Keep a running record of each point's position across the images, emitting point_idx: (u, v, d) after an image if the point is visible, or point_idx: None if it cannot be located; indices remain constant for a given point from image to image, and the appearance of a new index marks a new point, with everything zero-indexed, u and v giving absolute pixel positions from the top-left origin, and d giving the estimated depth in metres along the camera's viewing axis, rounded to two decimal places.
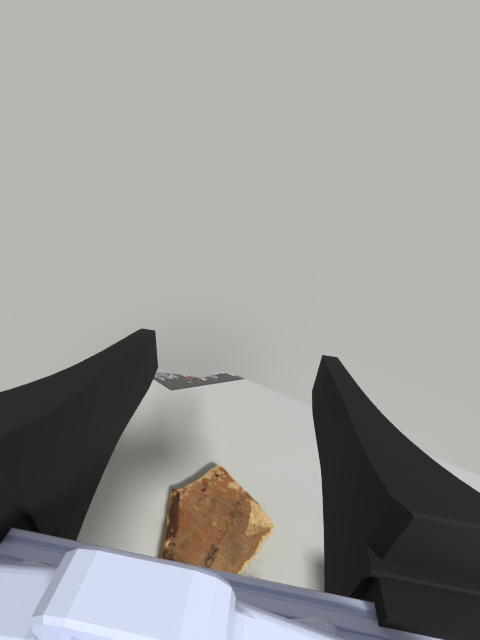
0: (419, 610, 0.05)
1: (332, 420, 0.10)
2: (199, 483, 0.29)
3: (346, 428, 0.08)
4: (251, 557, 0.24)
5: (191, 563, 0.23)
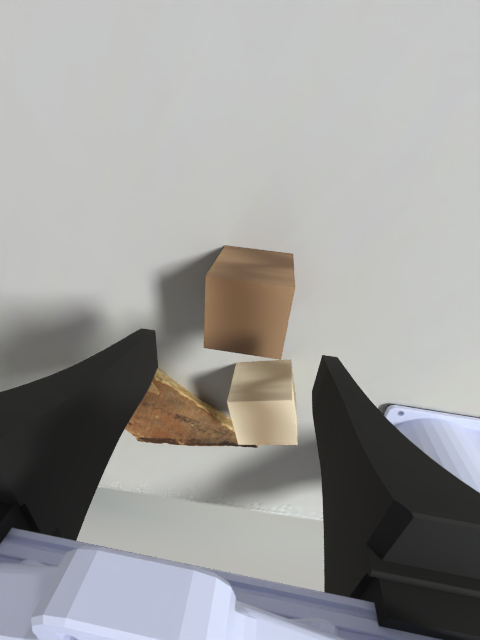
0: (419, 610, 0.05)
1: (332, 420, 0.10)
2: None
3: (346, 428, 0.08)
4: (176, 389, 0.25)
5: (190, 429, 0.27)
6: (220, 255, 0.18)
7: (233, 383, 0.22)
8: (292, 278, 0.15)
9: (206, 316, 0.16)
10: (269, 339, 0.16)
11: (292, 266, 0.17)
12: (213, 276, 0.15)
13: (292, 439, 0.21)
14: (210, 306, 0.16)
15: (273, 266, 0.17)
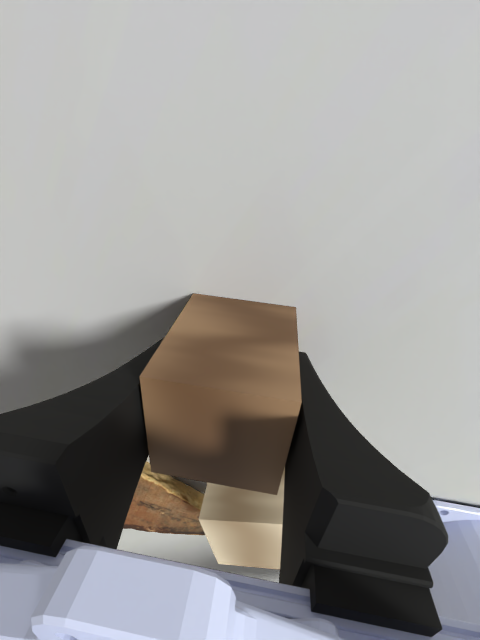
0: (349, 595, 0.06)
1: None
2: None
3: (301, 421, 0.08)
4: None
5: (161, 517, 0.20)
6: (179, 317, 0.11)
7: None
8: (296, 373, 0.09)
9: (149, 433, 0.09)
10: (257, 469, 0.10)
11: (295, 339, 0.10)
12: (154, 376, 0.08)
13: None
14: (154, 420, 0.09)
15: (265, 340, 0.10)
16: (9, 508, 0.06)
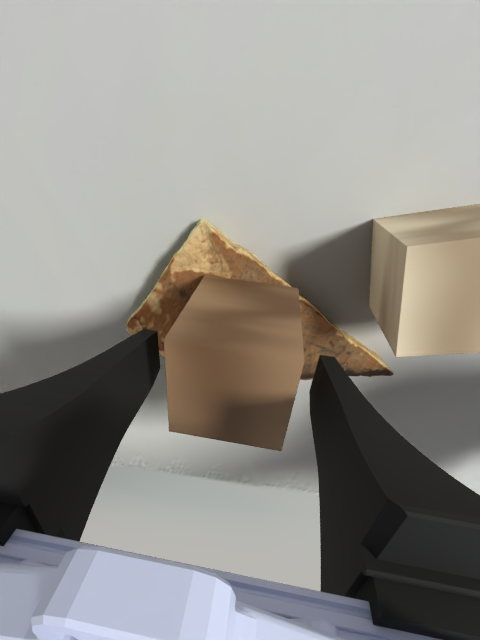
0: (413, 609, 0.05)
1: (329, 420, 0.10)
2: None
3: (342, 427, 0.08)
4: (261, 265, 0.14)
5: None
6: (194, 294, 0.12)
7: (394, 231, 0.11)
8: (299, 339, 0.10)
9: (169, 393, 0.11)
10: (264, 426, 0.11)
11: (298, 313, 0.12)
12: (176, 339, 0.09)
13: None
14: (174, 380, 0.10)
15: (271, 313, 0.11)
16: None
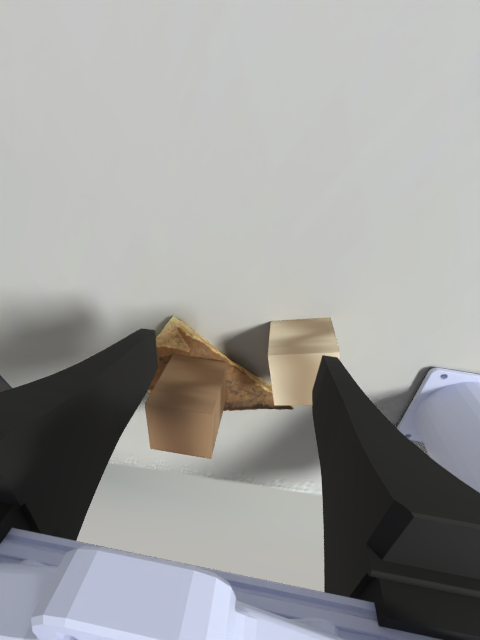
0: (419, 610, 0.05)
1: (332, 420, 0.10)
2: None
3: (346, 428, 0.08)
4: (207, 345, 0.23)
5: None
6: (164, 371, 0.22)
7: (271, 339, 0.21)
8: (214, 401, 0.20)
9: (149, 429, 0.20)
10: (199, 445, 0.20)
11: (220, 383, 0.21)
12: (151, 404, 0.19)
13: None
14: (151, 423, 0.20)
15: (204, 384, 0.21)
16: None
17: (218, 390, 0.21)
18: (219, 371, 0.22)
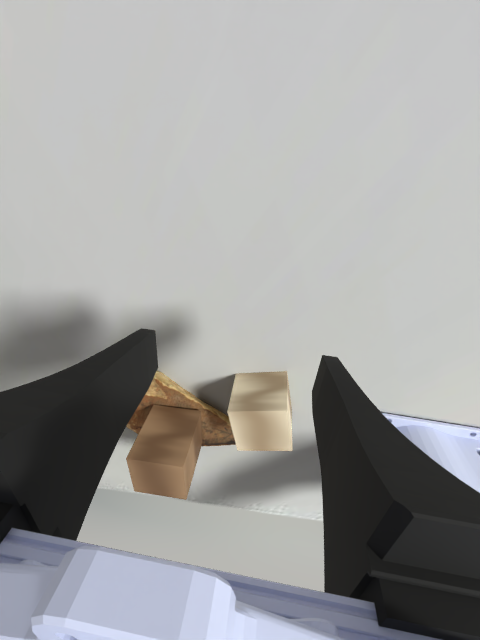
0: (419, 610, 0.05)
1: (332, 420, 0.10)
2: (137, 430, 0.30)
3: (346, 428, 0.08)
4: (182, 393, 0.27)
5: None
6: (145, 423, 0.25)
7: (233, 394, 0.24)
8: (186, 453, 0.23)
9: (132, 476, 0.24)
10: (175, 489, 0.24)
11: (192, 433, 0.25)
12: (131, 458, 0.23)
13: (287, 446, 0.23)
14: (133, 472, 0.23)
15: (179, 435, 0.24)
16: None
17: (190, 441, 0.24)
18: (193, 421, 0.26)
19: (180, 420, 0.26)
